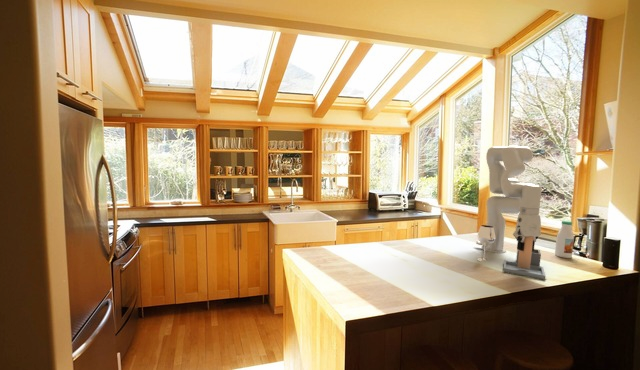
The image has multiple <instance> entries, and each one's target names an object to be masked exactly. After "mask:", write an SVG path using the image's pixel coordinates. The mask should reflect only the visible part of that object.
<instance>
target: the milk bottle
mask: <svg viewBox="0 0 640 370" xmlns="http://www.w3.org/2000/svg"><path fill="white" fill-rule="evenodd" d="M572 226H573V221H570V220H562V221H561V227H560V229H559V231H558V232H557V234H556V235H557V236H556V241H555V249H554V254H555V256H557V257H560V258H565V259H572V257H573V251H574V250H573V249H574V243H575V242H574V241H575V235H574V232H573V230H572Z"/></svg>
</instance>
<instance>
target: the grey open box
mask: <svg viewBox="0 0 640 370" xmlns="http://www.w3.org/2000/svg"><path fill="white" fill-rule="evenodd" d="M518 256H519V250H518V249H517V248H516V257H515V260H516V261H515V262H516V263H518ZM541 256H542V253H541V250H540V249H535V248H534V251H532V254H531V263H530V265H533V266H539V267H541V266H540V265H541Z"/></svg>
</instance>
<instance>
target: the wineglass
mask: <svg viewBox="0 0 640 370" xmlns="http://www.w3.org/2000/svg"><path fill="white" fill-rule="evenodd" d="M477 239H478V240H477V241H480V242H481V243H482V244H483V245H484V250H483V258H481V257H479V258H477V261H478V262H482V261H487V259H486V253H487V251H486V247H487V246H488V245H490V244H491V243H493V242H494V241H495V232H494V227H493V226H488V225H487V224H483V225H480V227H479V230H478V232H477ZM483 245H482V246H483Z"/></svg>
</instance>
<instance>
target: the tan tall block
mask: <svg viewBox="0 0 640 370" xmlns="http://www.w3.org/2000/svg"><path fill="white" fill-rule="evenodd" d="M521 238H522V236H521ZM532 245H533V237H525V239H524V251H521V250H519V256H518V265H517V266H518V267H520V268H524V269H530V263H531V254H532Z"/></svg>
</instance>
